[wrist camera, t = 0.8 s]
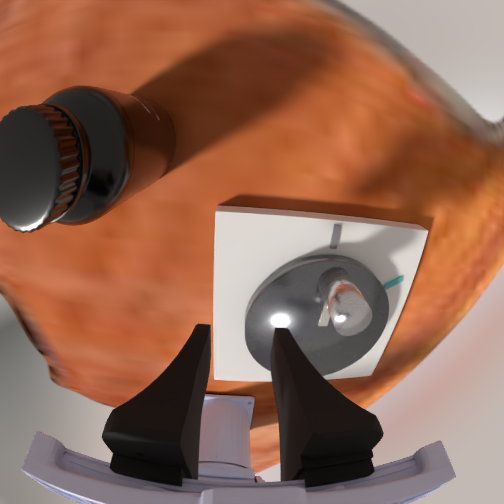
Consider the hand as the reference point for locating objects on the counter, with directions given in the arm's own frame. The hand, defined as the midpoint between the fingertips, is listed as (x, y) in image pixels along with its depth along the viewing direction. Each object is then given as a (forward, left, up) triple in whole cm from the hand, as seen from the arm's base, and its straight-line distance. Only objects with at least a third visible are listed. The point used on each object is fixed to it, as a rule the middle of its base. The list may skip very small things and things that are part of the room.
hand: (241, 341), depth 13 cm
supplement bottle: (+8, +8, -10) cm, 15 cm away
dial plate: (-4, -6, -9) cm, 12 cm away
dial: (-5, -6, -8) cm, 11 cm away
